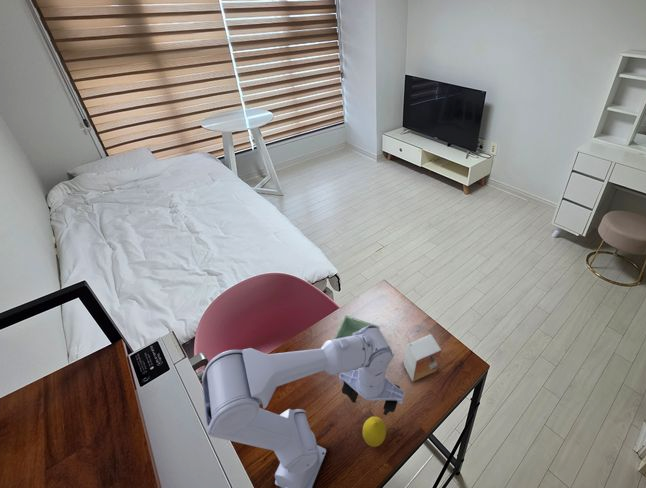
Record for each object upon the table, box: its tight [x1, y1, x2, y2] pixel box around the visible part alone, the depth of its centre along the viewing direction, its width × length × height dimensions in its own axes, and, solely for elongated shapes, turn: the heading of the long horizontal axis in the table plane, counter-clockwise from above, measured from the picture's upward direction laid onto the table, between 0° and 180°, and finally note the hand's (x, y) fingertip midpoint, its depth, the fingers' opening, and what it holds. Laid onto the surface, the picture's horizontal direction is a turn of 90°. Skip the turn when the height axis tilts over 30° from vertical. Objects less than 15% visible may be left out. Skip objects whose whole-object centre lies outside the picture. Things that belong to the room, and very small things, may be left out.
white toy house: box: [403, 333, 442, 383], centre depth 91 cm, size 8×6×10 cm
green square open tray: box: [333, 314, 380, 339], centre depth 98 cm, size 11×11×5 cm
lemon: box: [362, 416, 387, 448], centre depth 77 cm, size 6×6×8 cm
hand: (370, 404), depth 76 cm, fingers open, 7 cm apart
